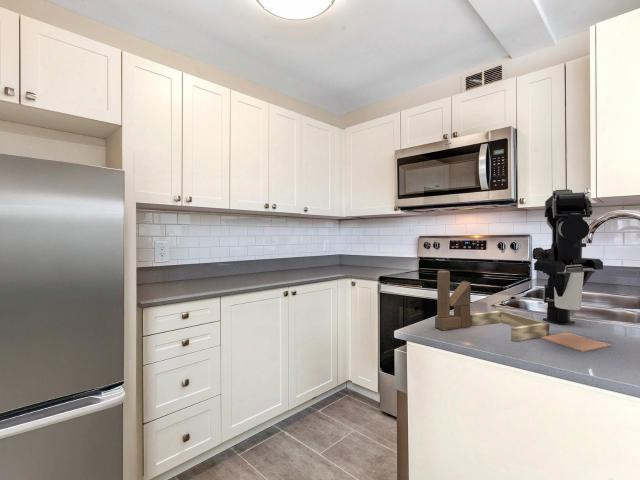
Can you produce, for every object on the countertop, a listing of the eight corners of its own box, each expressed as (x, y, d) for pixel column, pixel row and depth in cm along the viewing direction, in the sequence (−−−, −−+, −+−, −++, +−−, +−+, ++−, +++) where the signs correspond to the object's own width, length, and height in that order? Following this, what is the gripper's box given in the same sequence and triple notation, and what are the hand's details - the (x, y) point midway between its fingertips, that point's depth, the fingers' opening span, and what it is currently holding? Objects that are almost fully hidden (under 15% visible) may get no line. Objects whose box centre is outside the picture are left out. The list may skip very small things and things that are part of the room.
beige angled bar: (501, 320, 112) (501, 310, 112) (549, 335, 97) (549, 323, 97) (469, 325, 108) (469, 314, 108) (514, 341, 92) (514, 328, 92)
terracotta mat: (567, 333, 98) (567, 332, 98) (611, 346, 88) (611, 344, 88) (540, 338, 95) (540, 337, 95) (582, 351, 84) (583, 350, 84)
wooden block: (470, 327, 106) (471, 270, 105) (442, 330, 102) (442, 272, 102) (462, 324, 109) (462, 269, 109) (434, 327, 106) (434, 270, 105)
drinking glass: (547, 305, 94) (548, 270, 93) (561, 303, 96) (562, 268, 96) (573, 311, 88) (574, 273, 87) (588, 308, 90) (589, 271, 90)
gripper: (564, 237, 102) (562, 288, 102) (516, 239, 96) (516, 293, 97) (605, 238, 91) (603, 295, 92) (555, 240, 85) (553, 301, 86)
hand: (567, 296), depth 92 cm, fingers closed on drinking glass, 5 cm apart
